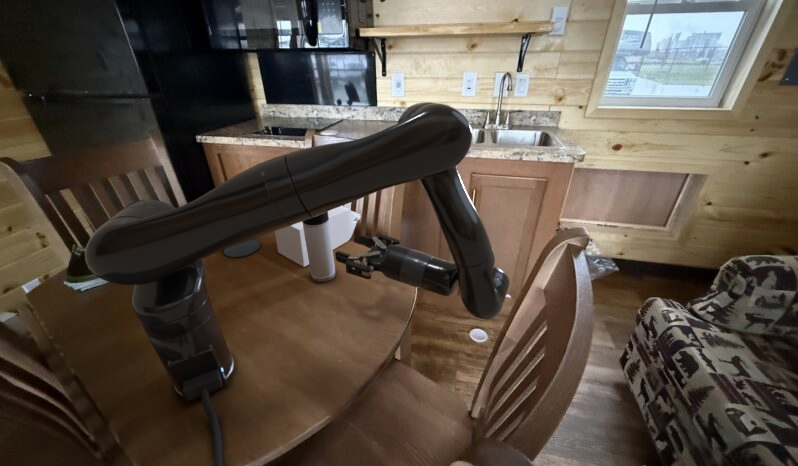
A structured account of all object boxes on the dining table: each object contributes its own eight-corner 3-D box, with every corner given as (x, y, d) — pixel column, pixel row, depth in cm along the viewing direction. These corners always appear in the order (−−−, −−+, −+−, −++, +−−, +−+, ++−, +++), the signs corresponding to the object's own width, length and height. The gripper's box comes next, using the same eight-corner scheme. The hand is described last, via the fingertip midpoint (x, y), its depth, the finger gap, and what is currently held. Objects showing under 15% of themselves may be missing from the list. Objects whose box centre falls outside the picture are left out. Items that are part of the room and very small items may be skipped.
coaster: (263, 251, 93) (262, 250, 93) (225, 261, 89) (225, 260, 88) (257, 237, 101) (256, 236, 100) (222, 245, 96) (222, 244, 96)
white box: (304, 267, 87) (367, 233, 105) (299, 230, 81) (367, 202, 100) (278, 252, 93) (342, 223, 112) (272, 217, 88) (340, 193, 106)
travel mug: (338, 268, 86) (331, 201, 76) (331, 283, 81) (322, 213, 71) (316, 266, 87) (306, 200, 77) (307, 281, 81) (295, 211, 71)
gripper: (424, 236, 70) (364, 220, 77) (393, 269, 59) (326, 246, 66) (422, 264, 74) (365, 246, 80) (393, 299, 63) (329, 275, 70)
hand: (347, 246), depth 73 cm, fingers open, 8 cm apart
